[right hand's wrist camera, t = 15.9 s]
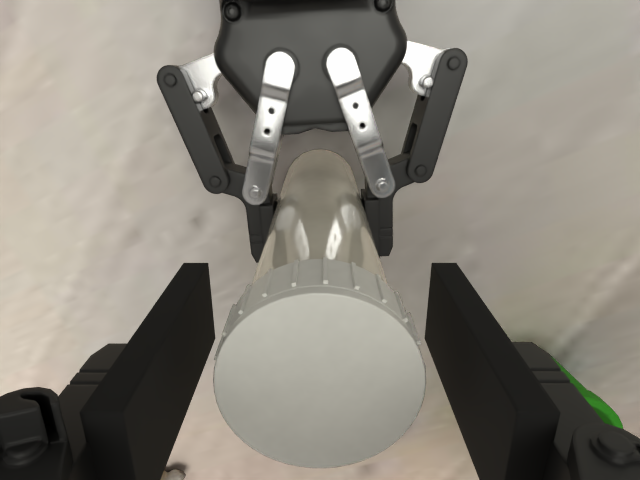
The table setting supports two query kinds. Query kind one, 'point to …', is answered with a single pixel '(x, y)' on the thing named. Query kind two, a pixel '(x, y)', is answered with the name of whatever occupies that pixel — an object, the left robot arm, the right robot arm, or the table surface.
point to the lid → (319, 365)
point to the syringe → (173, 475)
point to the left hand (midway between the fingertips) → (323, 262)
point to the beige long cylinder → (319, 217)
